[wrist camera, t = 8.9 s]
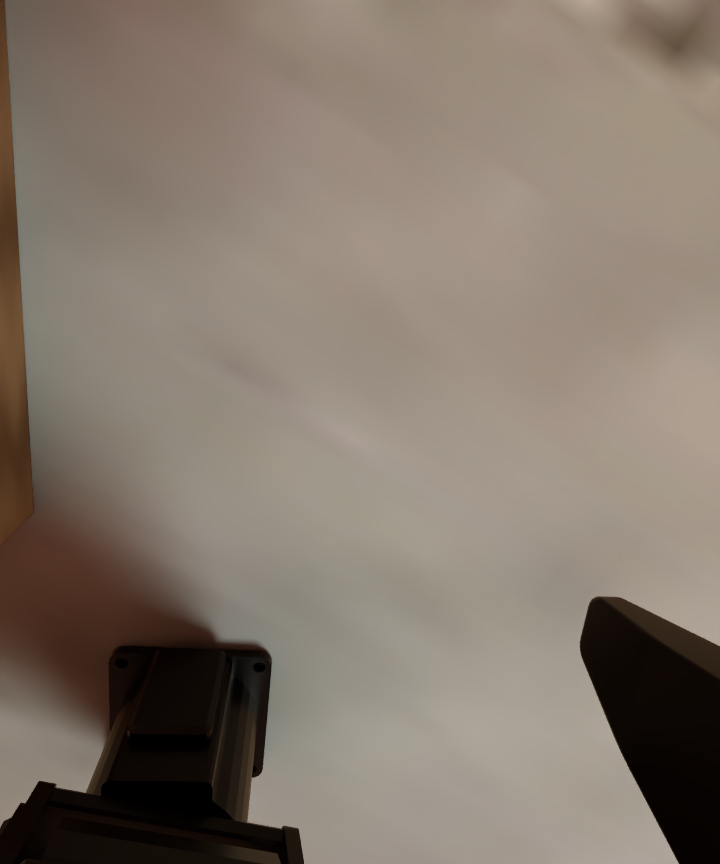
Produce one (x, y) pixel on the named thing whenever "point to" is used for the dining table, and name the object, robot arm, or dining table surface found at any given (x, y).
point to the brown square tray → (11, 332)
